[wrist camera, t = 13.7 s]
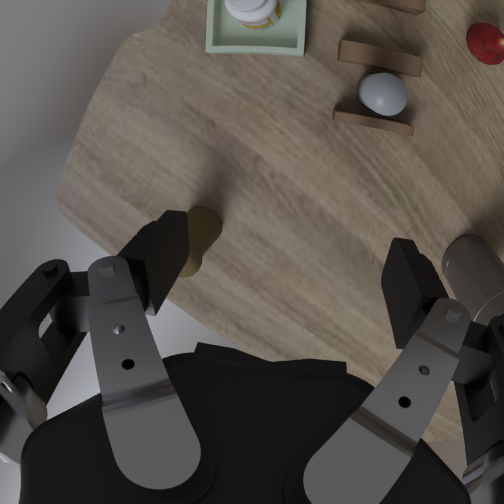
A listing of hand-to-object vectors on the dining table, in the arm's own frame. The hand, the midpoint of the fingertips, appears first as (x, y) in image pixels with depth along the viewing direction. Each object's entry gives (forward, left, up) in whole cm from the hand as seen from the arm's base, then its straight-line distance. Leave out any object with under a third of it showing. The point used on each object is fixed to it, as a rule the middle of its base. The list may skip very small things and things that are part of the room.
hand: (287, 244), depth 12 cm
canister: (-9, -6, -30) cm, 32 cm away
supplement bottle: (+6, -15, -30) cm, 34 cm away
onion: (-23, -17, -30) cm, 42 cm away
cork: (+13, +16, -30) cm, 37 cm away
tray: (+6, -15, -30) cm, 34 cm away
